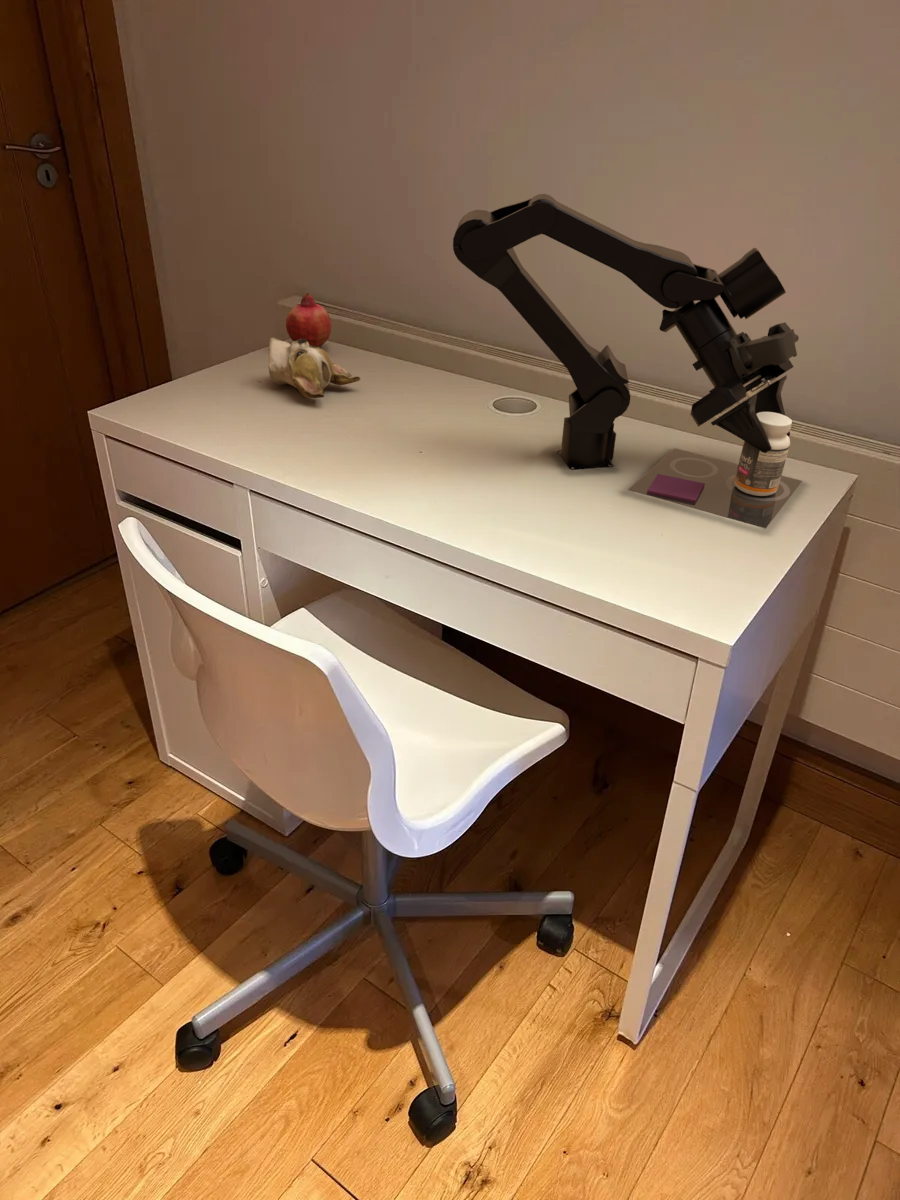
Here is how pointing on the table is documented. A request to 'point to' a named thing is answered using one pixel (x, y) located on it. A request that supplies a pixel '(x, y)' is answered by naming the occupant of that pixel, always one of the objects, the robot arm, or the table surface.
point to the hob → (718, 488)
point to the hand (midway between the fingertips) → (777, 444)
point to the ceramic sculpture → (305, 367)
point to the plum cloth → (676, 488)
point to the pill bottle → (765, 457)
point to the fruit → (309, 322)
